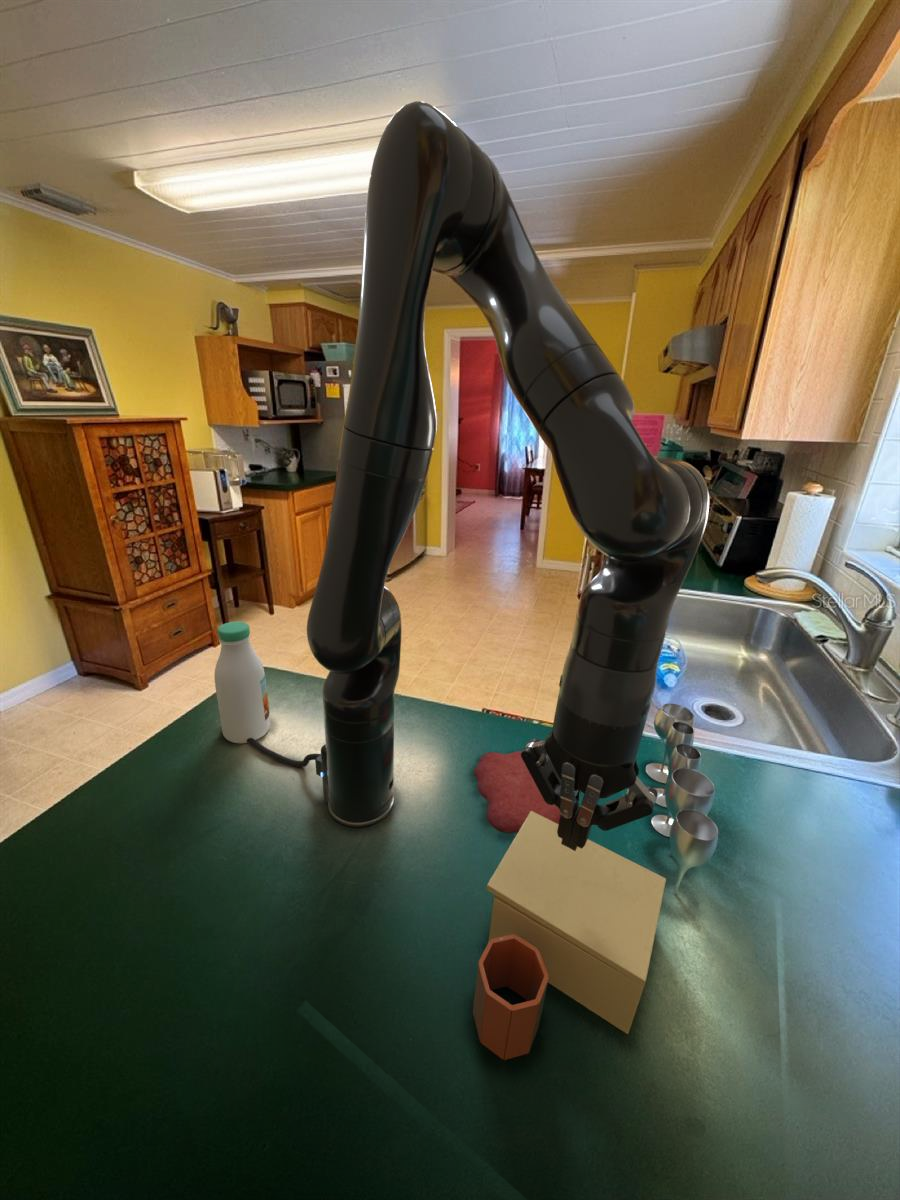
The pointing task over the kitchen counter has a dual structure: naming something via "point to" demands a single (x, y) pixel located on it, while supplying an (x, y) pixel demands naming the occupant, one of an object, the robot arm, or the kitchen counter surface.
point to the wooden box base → (572, 967)
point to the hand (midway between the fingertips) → (570, 841)
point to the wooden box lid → (583, 895)
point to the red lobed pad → (510, 791)
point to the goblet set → (683, 791)
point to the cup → (495, 1017)
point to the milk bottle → (240, 686)
